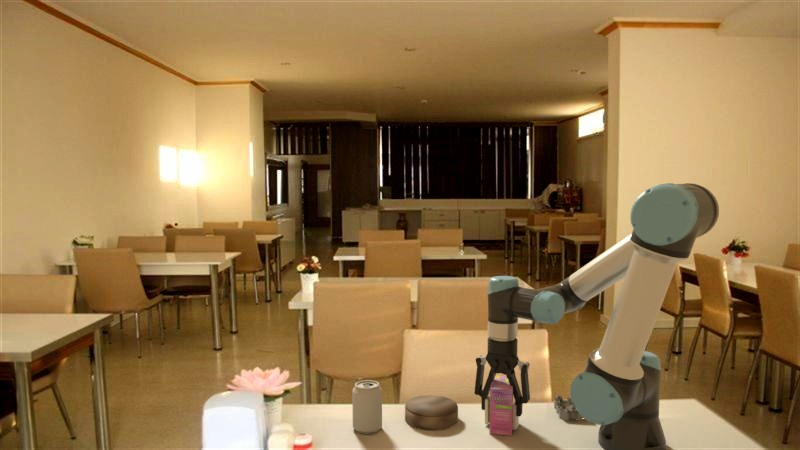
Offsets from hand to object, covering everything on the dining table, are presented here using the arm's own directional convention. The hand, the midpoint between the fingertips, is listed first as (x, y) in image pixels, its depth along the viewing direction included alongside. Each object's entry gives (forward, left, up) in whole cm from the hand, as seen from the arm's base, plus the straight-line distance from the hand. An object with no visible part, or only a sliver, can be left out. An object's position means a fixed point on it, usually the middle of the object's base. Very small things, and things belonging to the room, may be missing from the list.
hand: (501, 424), depth 156 cm
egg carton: (-14, -17, -1) cm, 22 cm away
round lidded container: (+18, +4, 0) cm, 18 cm away
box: (0, 0, -1) cm, 1 cm away
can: (+30, +17, -1) cm, 34 cm away
